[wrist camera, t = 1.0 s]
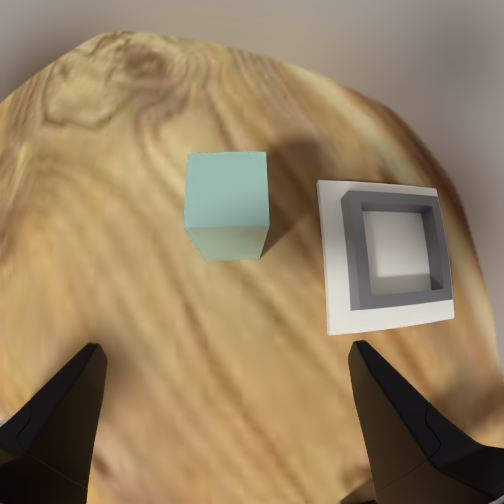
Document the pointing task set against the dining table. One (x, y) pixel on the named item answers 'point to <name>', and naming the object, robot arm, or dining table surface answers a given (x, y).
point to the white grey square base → (383, 256)
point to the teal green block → (227, 204)
